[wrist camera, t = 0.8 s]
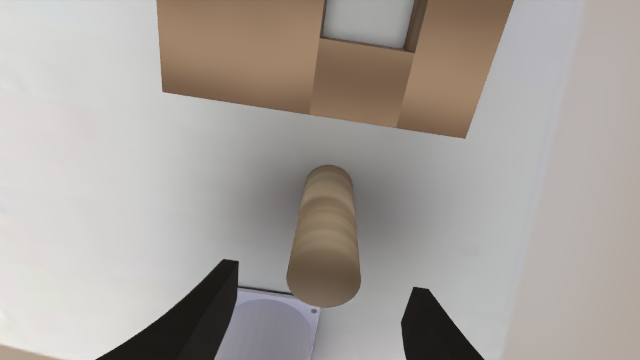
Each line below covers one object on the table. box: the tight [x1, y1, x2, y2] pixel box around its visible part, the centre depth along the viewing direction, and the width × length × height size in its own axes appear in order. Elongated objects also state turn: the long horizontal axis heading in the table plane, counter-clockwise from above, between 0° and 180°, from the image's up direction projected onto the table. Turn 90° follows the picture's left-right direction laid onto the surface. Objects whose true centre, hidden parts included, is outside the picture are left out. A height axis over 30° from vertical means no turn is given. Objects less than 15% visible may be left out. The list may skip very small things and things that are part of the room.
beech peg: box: [286, 165, 361, 308], centre depth 18 cm, size 3×3×9 cm
